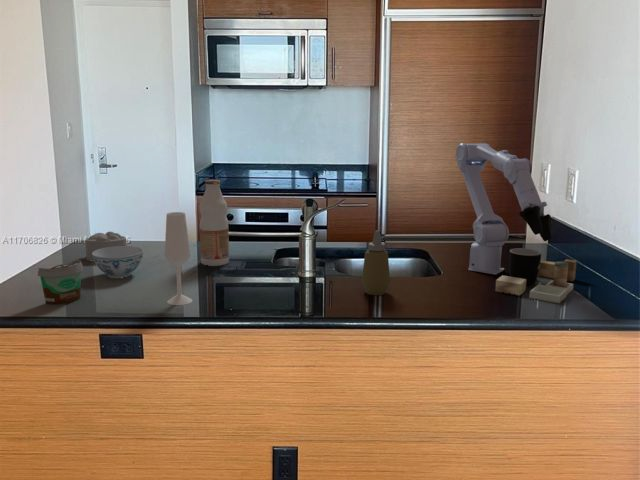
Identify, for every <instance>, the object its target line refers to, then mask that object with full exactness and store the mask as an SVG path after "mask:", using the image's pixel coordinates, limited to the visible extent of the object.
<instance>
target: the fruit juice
mask: <svg viewBox="0 0 640 480" xmlns="http://www.w3.org/2000/svg"><path fill="white" fill-rule="evenodd" d="M204 186H205V190H204V193H203V196H202V199H201V201H200V202H199V206H198V207H199V212H200V215H201V216H200V219H199V242H200V244H199V247H200V262H201V264H202V265H203V264H204V266H206V265H208V267H221V266H225V265H227V264H229V262H230V246H229V245H230V243H229V241H230V240H229V220H228V217H227V212H228V204H227V201H226V200H225V198H224V196H223V193H222V190H221V187H220V186H221V181H220V179H207V180H206V179H205V182H204Z"/></svg>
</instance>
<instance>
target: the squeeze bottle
mask: <svg viewBox="0 0 640 480" xmlns="http://www.w3.org/2000/svg"><path fill="white" fill-rule="evenodd" d="M389 263H390V262H389V252H388V251H386V244H385V242H382V238H381V233H380V230H375V231H374V235H373V238H372V241H371V242H369V243H368V249H367V250H366V251H365V252H364V260H363V267H362V274H361V283H362V286H363V290H364V292H365V294H367V295H369V296H370V295H371V296H383V295H385V294H386V293H387V290H388V289H389V285H390V281H391V280H390V279H391V277H390V276H391V275H390V265H389Z"/></svg>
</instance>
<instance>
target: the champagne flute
mask: <svg viewBox="0 0 640 480" xmlns="http://www.w3.org/2000/svg"><path fill="white" fill-rule="evenodd" d="M165 216H166V219H165V220H166V221H165V223H166V224H165V243H164V244H165V245H164V257H165V259H166V260H167V262H169V264H171V265H172V266H173V267H175V271H176V273H175V274H176V292H177V293H176V295H174V296H172V297H171V298H170V299H168V300H167V302H166V303H167V304H168V305H172V306H183V305H188V304H191V303H192V302H193V299H192V298H191V297H188V296H187V295H184V294H183V292H182V290H183V289H182V273H181V272H182V268H181V267H182V266H184V264H186V263H187V262H188V261H189V259H190V257H191V255H192V254H191V246H190V239H189V233H188V225H187V219H186V213H185V212H183V211H182V212H180V211H174V212H168V213H166V215H165Z"/></svg>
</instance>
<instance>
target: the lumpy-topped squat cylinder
mask: <svg viewBox="0 0 640 480" xmlns="http://www.w3.org/2000/svg"><path fill="white" fill-rule="evenodd" d="M84 244H85V255H86V261H87V260H94V259H93V256H92V252H94V251H96V250H98V249H102V248H107V247H116V246H128V244H127V237H126V236H123V235H121V234H119V232H118V233H117V232H114V231H107V232H105V233H104V232H103V233H102V232H95V233H94V234H91V235H90V236H89V237H88V238H86V239H84Z"/></svg>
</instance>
